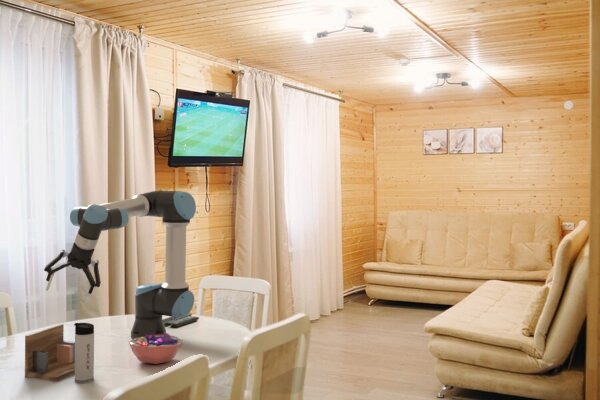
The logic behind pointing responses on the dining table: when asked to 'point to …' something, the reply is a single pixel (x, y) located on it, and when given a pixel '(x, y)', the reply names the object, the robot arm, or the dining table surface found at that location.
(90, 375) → the travel mug
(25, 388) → the dining table surface
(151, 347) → the candy bowl
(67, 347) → the books
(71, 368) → the shelf
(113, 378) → the dining table surface
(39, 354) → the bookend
